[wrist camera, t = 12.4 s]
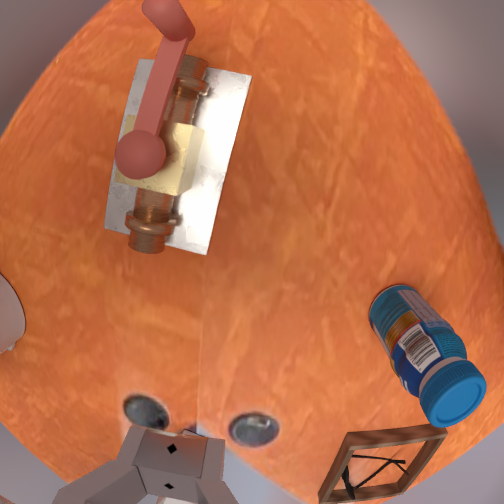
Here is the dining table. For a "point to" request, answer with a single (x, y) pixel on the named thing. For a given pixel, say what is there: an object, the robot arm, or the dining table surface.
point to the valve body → (180, 160)
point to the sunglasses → (350, 489)
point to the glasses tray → (377, 440)
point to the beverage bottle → (427, 355)
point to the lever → (155, 92)
